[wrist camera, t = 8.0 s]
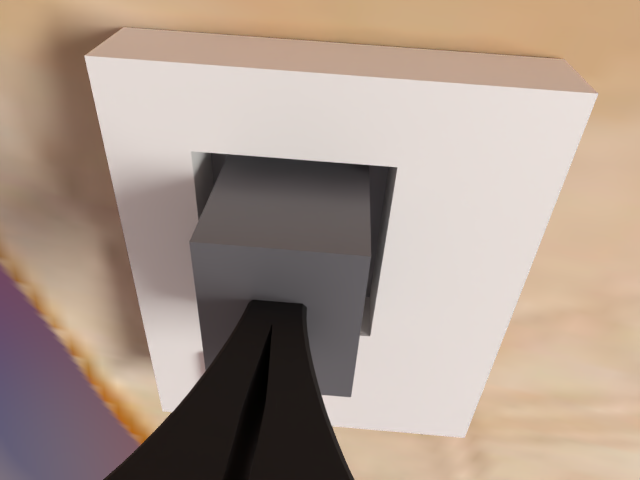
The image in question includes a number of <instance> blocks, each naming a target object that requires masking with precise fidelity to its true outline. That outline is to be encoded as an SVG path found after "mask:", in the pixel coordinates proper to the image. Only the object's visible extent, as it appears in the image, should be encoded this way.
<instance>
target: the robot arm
mask: <svg viewBox="0 0 640 480" xmlns="http://www.w3.org/2000/svg"><path fill="white" fill-rule="evenodd" d="M103 480H354V478H353V476H352V474H351V472H350V470H349V468H348V465H347V463H346V461H345V458H344V456H343V453H342V451H341V449H340V446H339V444H338V441H337V439H336V436H335V433H334V431H333V428H332V425H331V423H330V420H329V417H328V414H327V411H326V408H325V405H324V402H323V398H322V395H321V392H320V388H319V385H318V381H317V377H316V373H315V369H314V365H313V360H312V356H311V351H310V345H309V339H308V331H307V307H306V306H305V305H304V304H301V303H288V302H276V301H264V300H252V301H250V302H249V303H248V305H247V307H246V309H245V311H244V313H243V315H242V316H241V318H240V320H239V322H238V323H237V325H236V327H235V328H234V330H233V332H232V333H231V335H230V336H229V338H228V340H227V341H226V343H225V344H224V346H223V347H222V349H221V350H220V351H219V353H218V354H217V356H216V357H215V359H214V360H213V362H212V363H211V364H210V366H209V367H208V369H207V370H206V371H205V372H204V374H203V375H202V376H201V378H200V379H199V380H198V382H197V383H196V384H195V385H194V387H193V388H192V389H191V391H190V392H189V393H188V394H187V395H186V397H185V398H184V399H183V400H182V401H181V403H180V404H179V405H178V406H177V407H176V408H175V410H174V411H173V412H172V413H171V414H170V415H169V416H168V417H167V418H166V420H165V421H164V422H163V423H162V424H161V425H160V426H159V427H158V428H157V429H156V430H155V431H154V432H153V433H152V434H151V435H150V436H149V437H148V438H147V439H146V440H145V441H144V442H143V443H142V444H141V445H140V446H139V447H138V448H137V449H136V450H135V451H134V453H132V454H131V455H130V456H129V457H128V458H127V459H126V460H125V461H124V462H123V463H122V464H121V465H119V466H118V467H117V468H116V469H115V470H114V471H113V472H112V473H110V474H109V475H108V476H107V477H106V478H105V479H103Z"/></svg>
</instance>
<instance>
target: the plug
mask: <svg viewBox="0 0 640 480" xmlns="http://www.w3.org/2000/svg"><path fill="white" fill-rule="evenodd" d="M189 244H190V252H191V260H192V268H193V276H194V283H195V291H196V299H197V307H198V315H199V323H200V331H201V339H202V347H203V354H204V362H205V370H207V369H208V367H209V366H210V364H211V363H212V362H213V360H214V359H215V357H216V356H217V354H218V353H219V351H220V350H221V349H222V347H223V346H224V344H225V343H226V341H227V340H228V338H229V336H230V335H231V333H232V332H233V330H234V328H235V327H236V325H237V323H238V322H239V320H240V318H241V316H242V315H243V313H244V311H245V309H246V307H247V305H248V303H249V302H250V301H252V300H264V301H276V302H288V303H301V304H304V305H305V306H306V307H307V331H308V339H309V345H310V351H311V356H312V360H313V365H314V369H315V373H316V377H317V381H318V385H319V388H320V392H321V395H329V396H340V397H351V394H352V387H353V380H354V373H355V366H356V359H357V352H358V345H359V338H360V331H361V324H362V317H363V310H364V303H365V296H366V289H367V282H368V275H369V268H370V261H371V228H370V184H369V165H362V164H349V163H336V162H323V161H310V160H298V159H285V158H272V157H259V156H246V155H233V154H228V156H227V158H226V160H225V163H224V165H223V167H222V169H221V172H220V174H219V176H218V178H217V181H216V183H215V185H214V187H213V190H212V192H211V194H210V196H209V198H208V201H207V203H206V205H205V207H204V210H203V212H202V214H201V216H200V219H199V221H198V223H197V225H196V228H195V230H194V232H193V234H192V237H191V239H190V241H189Z"/></svg>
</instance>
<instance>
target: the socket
mask: <svg viewBox="0 0 640 480" xmlns="http://www.w3.org/2000/svg"><path fill="white" fill-rule="evenodd" d="M84 57H85V61H86V66H87V70H88V75H89V79H90V84H91V88H92V93H93V97H94V102H95V107H96V111H97V116H98V120H99V125H100V129H101V134H102V138H103V143H104V147H105V152H106V156H107V161H108V166H109V170H110V175H111V179H112V184H113V188H114V193H115V197H116V202H117V206H118V211H119V215H120V220H121V225H122V229H123V234H124V238H125V243H126V247H127V252H128V256H129V261H130V265H131V270H132V274H133V279H134V284H135V288H136V293H137V297H138V302H139V306H140V311H141V315H142V320H143V324H144V329H145V333H146V338H147V342H148V347H149V352H150V356H151V361H152V365H153V370H154V374H155V379H156V383H157V388H158V392H159V397H160V401H161V406H162V411H166V412H173V411H174V410H175V408H176V407H177V406H178V405H179V404H180V403H181V401H182V400H183V399H184V398H185V397H186V395H187V394H188V393H189V392H190V391H191V389H192V388H193V387H194V385H195V384H196V383H197V382H198V380H199V379H200V378H201V376H202V375H203V374H204V372H205V371H206V370H205V362H204V354H203V347H202V339H201V331H200V323H199V315H198V307H197V299H196V291H195V283H194V276H193V268H192V260H191V252H190V244H189V241H190V239H191V237H192V234H193V232H194V230H195V228H196V225H197V223H198V221H199V219H200V216H201V214H202V212H203V210H204V207H205V205H206V203H207V201H208V198H209V196H210V194H211V192H212V190H213V187H214V185H215V183H216V181H217V178H218V176H219V174H220V172H221V169H222V167H223V165H224V163H225V160H226V158H227V156H228V154H233V155H246V156H259V157H272V158H285V159H298V160H310V161H323V162H336V163H349V164H362V165H369V184H370V228H371V261H370V268H369V275H368V282H367V289H366V296H365V303H364V310H363V317H362V324H361V331H360V338H359V345H358V352H357V359H356V366H355V373H354V380H353V387H352V394H351V397H340V396H329V395H322V398H323V402H324V405H325V408H326V411H327V414H328V417H329V420H330V423H331V425H332V426H336V427H347V428H359V429H370V430H381V431H393V432H404V433H415V434H427V435H438V436H450V437H461V438H465V435H466V433H467V430H468V428H469V425H470V422H471V420H472V417H473V415H474V412H475V410H476V407H477V404H478V402H479V399H480V397H481V394H482V392H483V389H484V386H485V384H486V381H487V379H488V376H489V374H490V371H491V368H492V366H493V363H494V361H495V358H496V356H497V353H498V350H499V348H500V345H501V343H502V340H503V337H504V335H505V332H506V330H507V327H508V325H509V322H510V319H511V317H512V314H513V312H514V309H515V307H516V304H517V301H518V299H519V296H520V294H521V291H522V289H523V286H524V283H525V281H526V278H527V276H528V273H529V271H530V268H531V265H532V263H533V260H534V258H535V255H536V253H537V250H538V247H539V245H540V242H541V240H542V237H543V235H544V232H545V229H546V227H547V224H548V222H549V219H550V217H551V214H552V211H553V209H554V206H555V204H556V201H557V199H558V196H559V193H560V191H561V188H562V186H563V183H564V181H565V178H566V175H567V173H568V170H569V168H570V165H571V163H572V160H573V157H574V155H575V152H576V150H577V147H578V145H579V142H580V139H581V137H582V134H583V132H584V129H585V127H586V124H587V121H588V119H589V116H590V114H591V111H592V109H593V106H594V103H595V101H596V98H597V96H598V93H597V92H596V91H595V90H594V89H593V88H592V87H591V86H590V85H589V84H588V83H587V82H586V81H585V80H584V79H583V78H582V77H581V76H580V75H579V74H578V73H577V72H576V70H575V69H574V68H573V67H572V66H571V65H570V64H569V63H568V62H567V61H566V60H565V59H556V58H542V57H528V56H515V55H501V54H487V53H473V52H459V51H446V50H432V49H418V48H404V47H391V46H377V45H363V44H349V43H336V42H322V41H308V40H294V39H280V38H267V37H253V36H239V35H225V34H212V33H198V32H184V31H170V30H157V29H143V28H129V27H123V28H122V29H120V30H119V31H117V32H116V33H115V34H113V35H112V36H111V37H109V38H108V39H106V40H105V41H104V42H102V43H101V44H100V45H98V46H97V47H96V48H94V49H93V50H91V51H90V52H89V53H87V54H86V55H85V56H84Z"/></svg>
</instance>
